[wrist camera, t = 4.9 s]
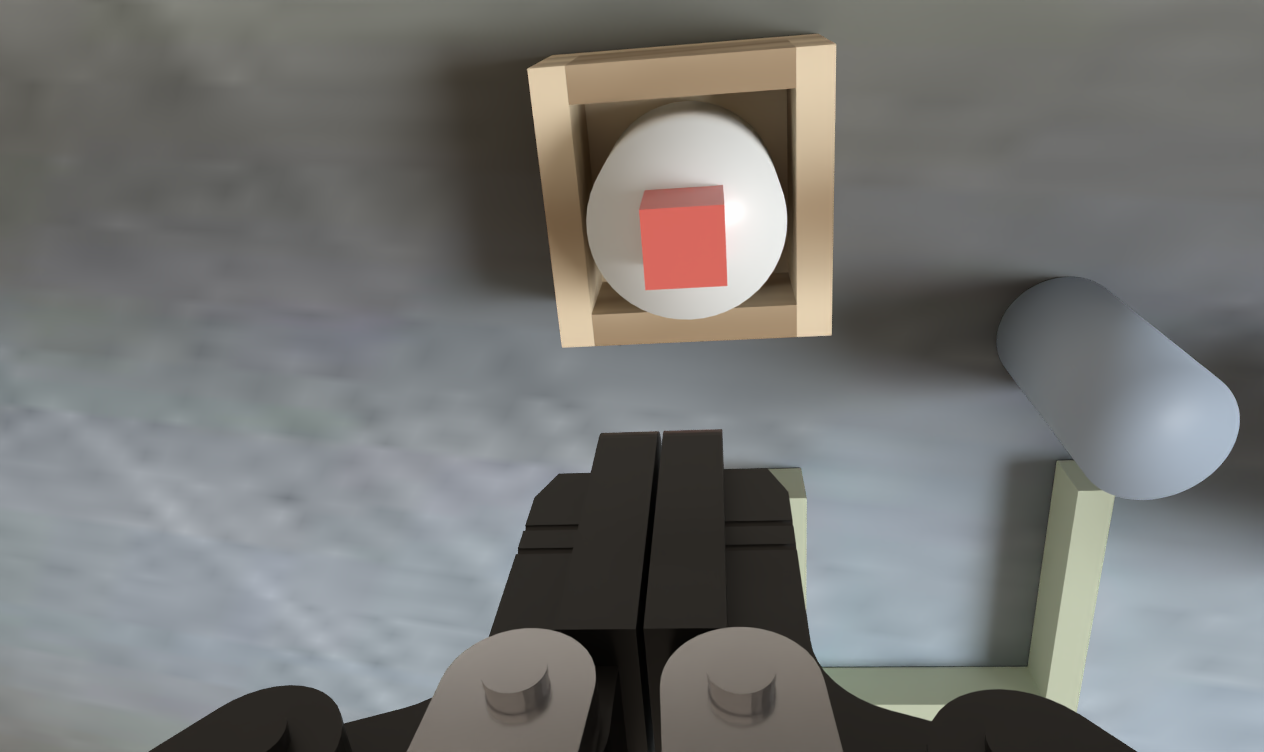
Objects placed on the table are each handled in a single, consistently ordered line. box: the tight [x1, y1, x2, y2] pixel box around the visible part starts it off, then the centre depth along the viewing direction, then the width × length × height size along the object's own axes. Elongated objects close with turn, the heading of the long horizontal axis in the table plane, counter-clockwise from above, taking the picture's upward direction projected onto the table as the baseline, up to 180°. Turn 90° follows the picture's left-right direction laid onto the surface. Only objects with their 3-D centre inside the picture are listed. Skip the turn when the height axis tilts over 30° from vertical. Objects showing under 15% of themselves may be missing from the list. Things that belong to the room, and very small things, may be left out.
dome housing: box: [527, 34, 836, 347], centre depth 26 cm, size 8×8×4 cm
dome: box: [586, 101, 787, 320], centre depth 23 cm, size 5×5×6 cm
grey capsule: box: [996, 277, 1240, 500], centre depth 26 cm, size 4×4×7 cm
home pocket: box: [768, 460, 1115, 721], centre depth 33 cm, size 11×11×2 cm
